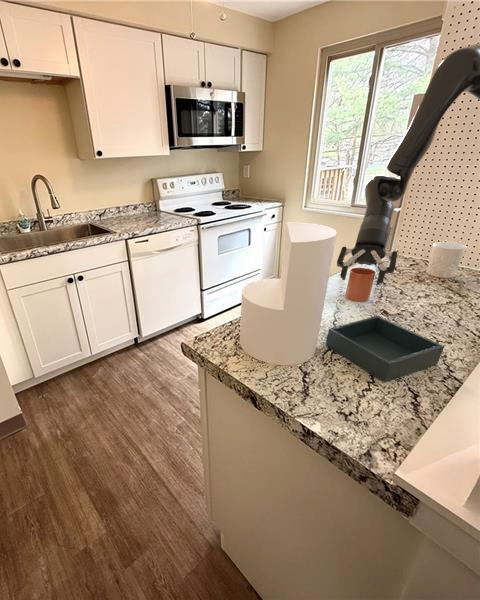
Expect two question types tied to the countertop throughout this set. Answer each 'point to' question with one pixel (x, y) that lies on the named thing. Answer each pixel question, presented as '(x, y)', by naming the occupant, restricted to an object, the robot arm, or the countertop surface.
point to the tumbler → (360, 284)
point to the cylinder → (289, 299)
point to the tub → (383, 348)
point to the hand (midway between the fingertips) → (360, 281)
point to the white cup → (445, 259)
